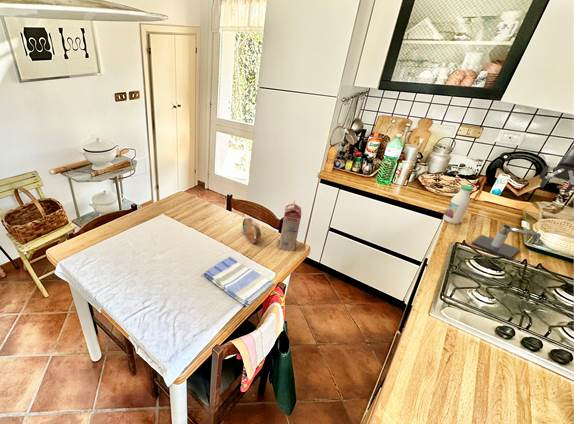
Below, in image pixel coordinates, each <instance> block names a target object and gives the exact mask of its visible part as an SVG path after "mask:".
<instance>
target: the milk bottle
mask: <svg viewBox="0 0 574 424" xmlns="http://www.w3.org/2000/svg"><path fill="white" fill-rule="evenodd" d="M472 191H473V186H470V185H466V184H463V185H461V186H460V188H459V191H458V192H457V193H456V194H454V195H453V196H452V198H451V199H450V201H449V203H448V206H447V208H446V210H445V211H444V213H443V216H442V220H443V221H445V222H447V223H449V224H453V225H457V224H458V225H459V224H460V223H461V222H462V220H463V218H464V216H465V214H466V212H467V211H468V207H469V205H470V203H471V196H470V195H471V193H472Z"/></svg>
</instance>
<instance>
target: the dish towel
mask: <svg viewBox="0 0 574 424" xmlns="http://www.w3.org/2000/svg"><path fill="white" fill-rule="evenodd" d="M203 276H204V277H205V278H207V279H208V280H210V281H211V282H212V283H213V284H215V285H216V286H217V287H219V288H220V289H221V290H223V291H224V292H225V293H226V294H227V295H229V296H230V297H231V298H233V299H235V300H236V301H238V302H239V303H240V304H242V305H244V307H246V308H248V307H251V306H252V305H253V304H255V303H256V302H257V301H258V300H260V299H261V298H262V297H263V296H264V295H265V294H267V293H268V292H269V291H270V290H271V289H273V288H274V286H275V285H276V284H275V282H274V281H273V280H271V279H269V278H268V277H266V276H264V275H262V274H260V273H259V272H258V271H255V270H254V269H252V268H250V267H248V266H247V265H245V264H243V263H240V262H239V261H238V260H236V259H235V258H233V257H232V256H229V257H227V258H226V259H224V260H221V261H220V262H219V263H217V264H216V265H215V266H213V267H211V268H209V269H208V270H206V271H205V272H204V273H203Z"/></svg>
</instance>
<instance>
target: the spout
mask: <svg viewBox="0 0 574 424" xmlns="http://www.w3.org/2000/svg"><path fill="white" fill-rule="evenodd" d="M498 231H499V233H501V234H503V235H508V236H509V234H510V233H515V234H520V235H525V236H531V237H532V238H531V241H533V242H536V243H537V242H538V241H539V240H540V238H541V237H542V234H541V233H540V232H535V231H530V230H525V229H520V228H514V227H511V226H510V225H507V224H504V225H501V227H500V228H499V230H498Z"/></svg>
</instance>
